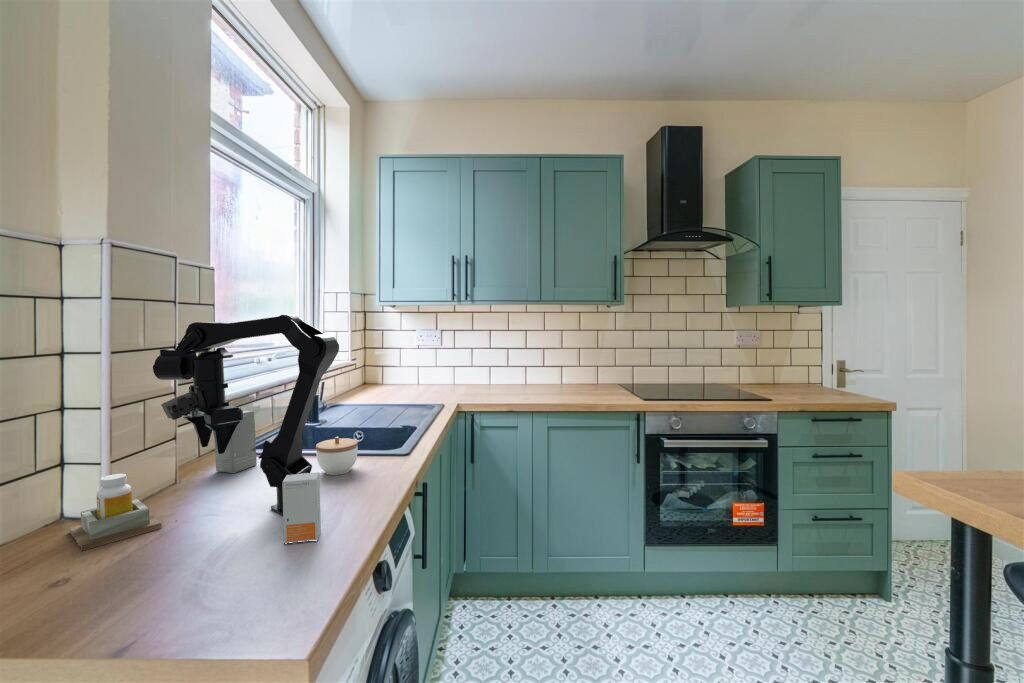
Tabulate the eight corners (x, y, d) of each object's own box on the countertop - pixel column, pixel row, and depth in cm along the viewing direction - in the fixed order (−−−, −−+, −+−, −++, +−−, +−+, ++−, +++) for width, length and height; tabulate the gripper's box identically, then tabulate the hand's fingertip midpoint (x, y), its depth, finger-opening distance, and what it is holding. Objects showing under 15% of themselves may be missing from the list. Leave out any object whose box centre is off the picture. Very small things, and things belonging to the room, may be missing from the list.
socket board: (161, 527, 96) (160, 508, 96) (82, 550, 87) (81, 529, 87) (144, 512, 104) (143, 494, 104) (69, 532, 95) (68, 512, 94)
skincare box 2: (283, 546, 88) (281, 481, 88) (288, 535, 92) (286, 474, 92) (318, 541, 90) (316, 478, 89) (321, 531, 94) (320, 471, 93)
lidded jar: (357, 463, 137) (356, 430, 137) (359, 474, 127) (358, 439, 127) (316, 468, 134) (315, 434, 133) (316, 480, 124) (315, 444, 123)
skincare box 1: (233, 474, 129) (231, 415, 128) (213, 471, 131) (210, 414, 130) (258, 464, 137) (256, 409, 136) (239, 462, 139) (237, 408, 138)
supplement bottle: (140, 519, 98) (137, 472, 97) (115, 531, 93) (113, 481, 92) (116, 518, 99) (113, 471, 98) (90, 530, 93) (87, 480, 93)
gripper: (150, 380, 104) (155, 451, 105) (181, 387, 93) (185, 467, 94) (208, 375, 113) (211, 440, 114) (242, 380, 101) (246, 453, 102)
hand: (212, 450), depth 106 cm, fingers open, 9 cm apart
